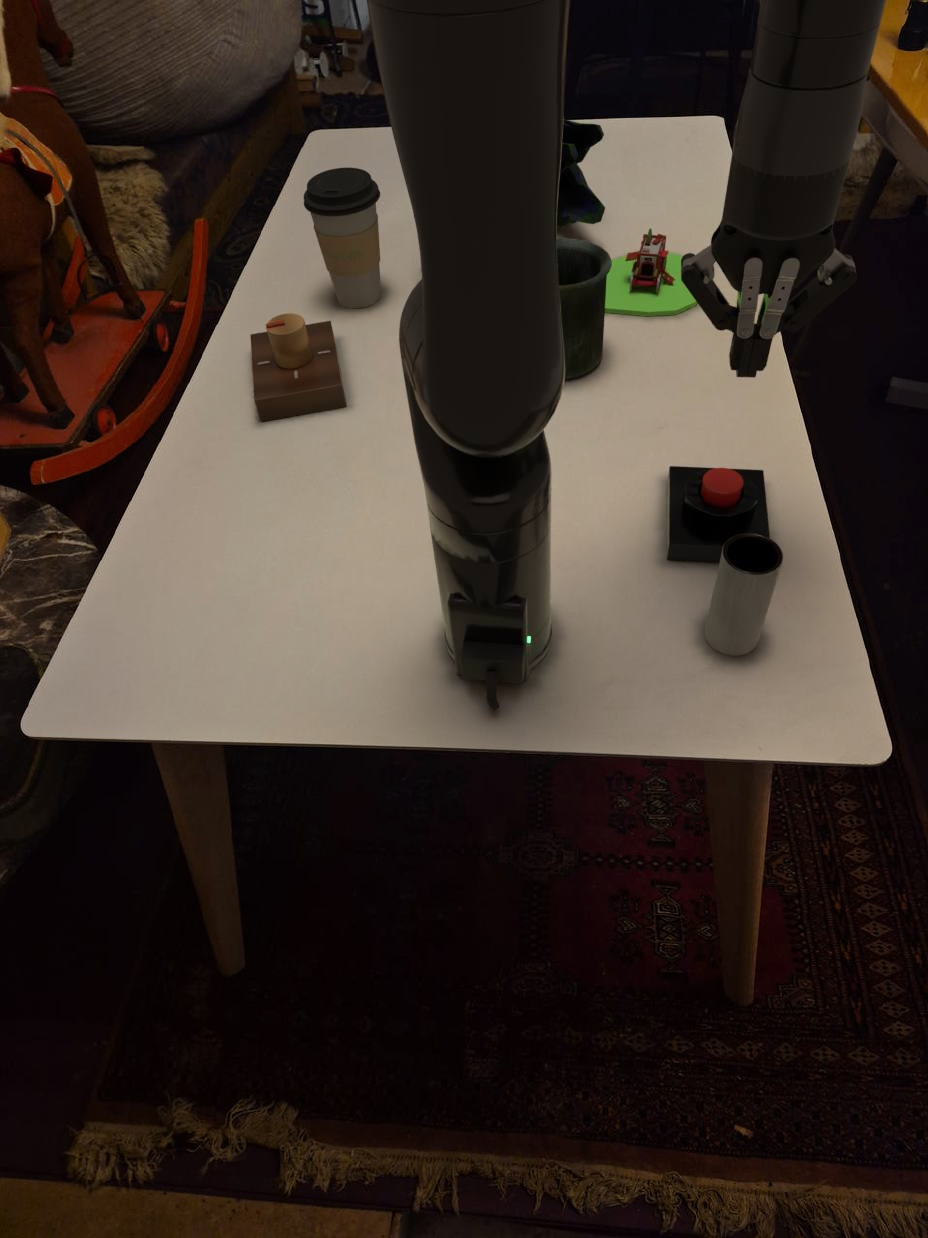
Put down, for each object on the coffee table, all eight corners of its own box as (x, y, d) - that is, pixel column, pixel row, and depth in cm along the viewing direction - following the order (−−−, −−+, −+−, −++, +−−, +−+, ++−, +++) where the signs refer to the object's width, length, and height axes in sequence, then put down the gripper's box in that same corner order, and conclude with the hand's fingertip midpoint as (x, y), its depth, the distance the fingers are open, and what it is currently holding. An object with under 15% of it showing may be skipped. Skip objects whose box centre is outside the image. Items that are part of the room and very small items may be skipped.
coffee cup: (331, 321, 111) (306, 205, 100) (319, 286, 117) (294, 173, 106) (401, 306, 112) (385, 189, 101) (386, 272, 118) (369, 158, 107)
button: (741, 508, 79) (744, 494, 77) (700, 506, 79) (703, 492, 78) (739, 482, 81) (742, 468, 80) (700, 480, 81) (702, 466, 80)
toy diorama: (707, 259, 114) (713, 213, 110) (693, 320, 105) (699, 272, 101) (595, 251, 118) (597, 206, 113) (572, 309, 109) (573, 262, 104)
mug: (601, 387, 98) (606, 289, 89) (476, 380, 101) (469, 284, 91) (610, 334, 105) (616, 238, 95) (493, 329, 107) (487, 235, 98)
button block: (766, 566, 79) (775, 535, 76) (666, 560, 80) (671, 530, 77) (759, 486, 86) (767, 455, 83) (667, 482, 87) (671, 451, 84)
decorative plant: (565, 260, 135) (574, 313, 110) (410, 195, 131) (383, 235, 106) (625, 118, 124) (650, 142, 99) (456, 42, 120) (439, 47, 95)
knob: (309, 344, 103) (301, 307, 99) (315, 364, 100) (306, 327, 96) (273, 351, 102) (263, 315, 99) (277, 372, 99) (267, 335, 96)
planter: (750, 613, 75) (774, 529, 67) (764, 654, 72) (790, 572, 65) (699, 617, 76) (716, 534, 68) (710, 658, 73) (730, 576, 65)
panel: (346, 406, 99) (341, 383, 97) (261, 422, 99) (253, 399, 96) (335, 341, 108) (330, 318, 106) (256, 355, 108) (249, 332, 105)
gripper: (689, 172, 55) (662, 397, 69) (908, 170, 53) (836, 402, 66) (688, 124, 60) (662, 344, 73) (889, 121, 58) (825, 347, 71)
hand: (745, 371), depth 70 cm, fingers closed
